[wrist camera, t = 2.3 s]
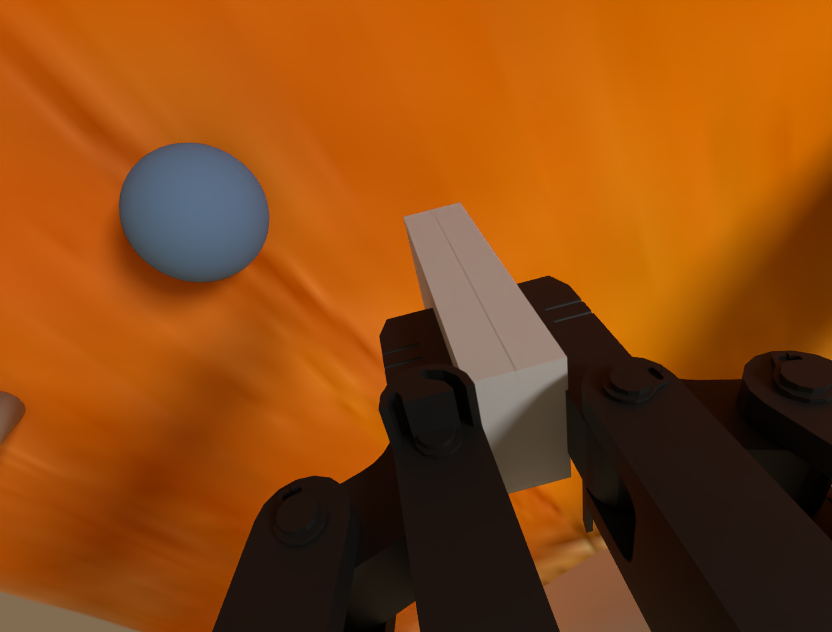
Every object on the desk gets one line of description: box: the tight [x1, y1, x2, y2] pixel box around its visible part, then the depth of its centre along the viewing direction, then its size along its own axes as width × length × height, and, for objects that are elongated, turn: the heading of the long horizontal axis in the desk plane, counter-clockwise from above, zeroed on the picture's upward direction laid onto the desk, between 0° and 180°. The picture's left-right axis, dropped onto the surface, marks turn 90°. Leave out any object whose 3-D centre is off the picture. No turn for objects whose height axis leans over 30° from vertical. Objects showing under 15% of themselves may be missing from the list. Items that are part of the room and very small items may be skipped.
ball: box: [119, 143, 269, 282], centre depth 21 cm, size 6×6×6 cm
